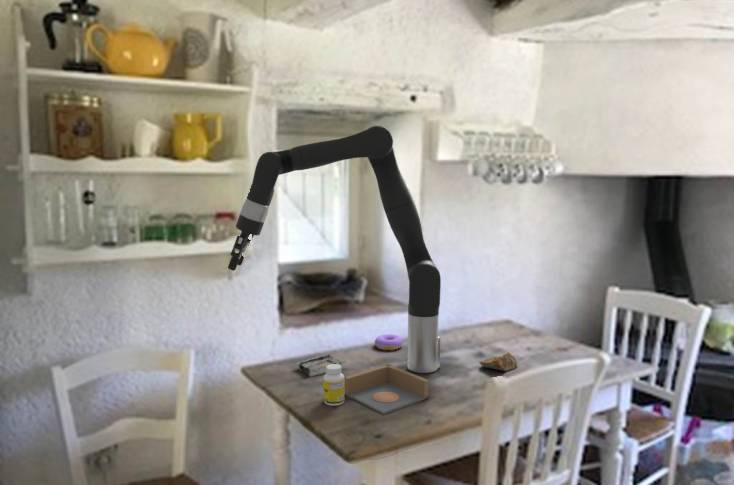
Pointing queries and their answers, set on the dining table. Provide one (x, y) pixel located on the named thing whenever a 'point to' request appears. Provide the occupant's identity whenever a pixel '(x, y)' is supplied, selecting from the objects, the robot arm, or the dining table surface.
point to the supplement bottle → (333, 385)
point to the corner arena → (386, 388)
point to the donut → (388, 342)
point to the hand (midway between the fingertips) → (234, 266)
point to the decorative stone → (500, 362)
